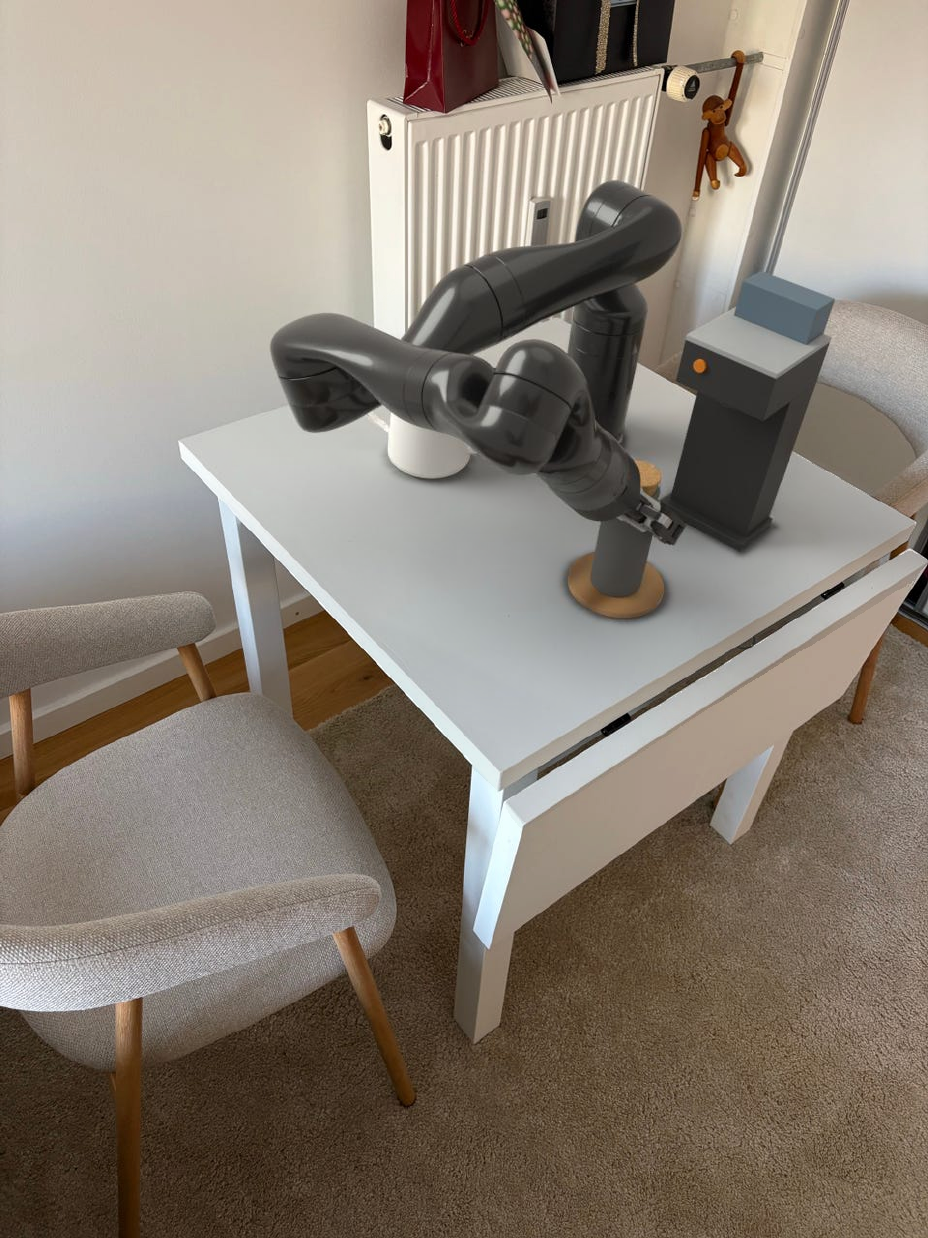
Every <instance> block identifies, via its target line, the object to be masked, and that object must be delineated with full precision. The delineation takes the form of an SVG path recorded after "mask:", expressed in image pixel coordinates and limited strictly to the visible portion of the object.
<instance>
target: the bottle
mask: <svg viewBox="0 0 928 1238" xmlns="http://www.w3.org/2000/svg"><path fill="white" fill-rule="evenodd" d="M634 461H635V463H636V464H637V466H638V469H639V472H640V478H641V486H640V487H642V489H643V492H644V493H646V494H647V495H649V496H650V497H652V498H653V499H654V500H656V501H657V502H659V498H660V495H661V489H660V486H659V485H660V483H661V481H662V478H663V476H662V475H663V474H662V472H661V471H660V469H658V467H656V466H655V465H653V464H652V463H649V462H646V461H642V460H634ZM630 518H631V517H630ZM631 519H633V520H634V521H638V519H639V518H638V519H637V518H631ZM652 522H653V521H652ZM652 522H651V523H650V525H651V524H652ZM653 537H654V535H652V534H651V533H650V532H648V531H645V532H642V531H639V530H637V529H635V528H633V527H632V526H630V525H629V524H628V523H626V522H625V521H621V520H618V519H616V518H615V519H612V520H608V521H600V524H599V529H598V533H597V538H596V544H595V550H594V552H595V553H594V558H593V563H592V569H591V575H590V580H591V583H592V585H593V586H594V587H595V588H596V589H597V590H598V591H600V592H601V593H603V594H605V595H608V596H612V597H626V596H630V595H632V594H634V593H636V592H637V591H638V589H639V587H640V585H641V581H642V577H643V573H644V569H645V565H646V562H648V561H647V560H648V557H649V553H650V549H651V546H652V541H653Z"/></svg>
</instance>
